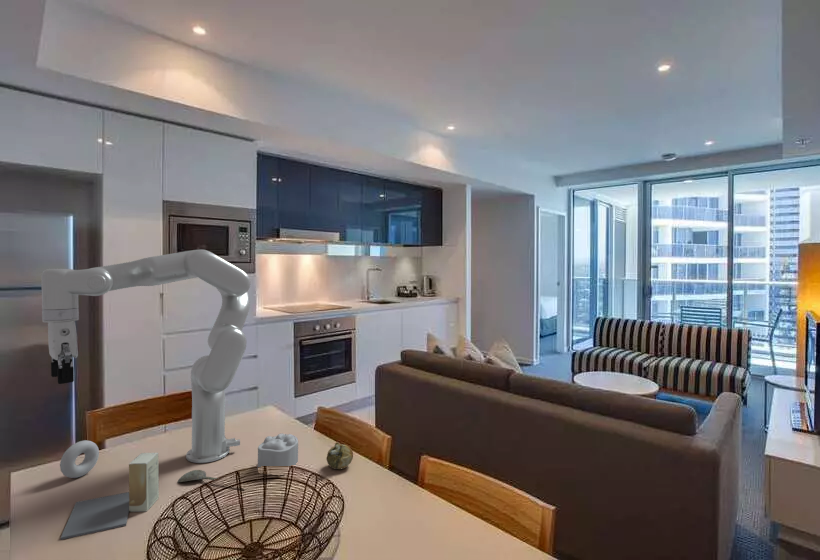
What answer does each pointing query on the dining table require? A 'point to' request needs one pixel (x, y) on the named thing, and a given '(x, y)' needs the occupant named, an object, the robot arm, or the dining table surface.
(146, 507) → the skincare box
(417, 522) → the dining table surface
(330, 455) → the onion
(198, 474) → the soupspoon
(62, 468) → the donut
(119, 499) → the mat
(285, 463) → the lumpy-topped squat cylinder
